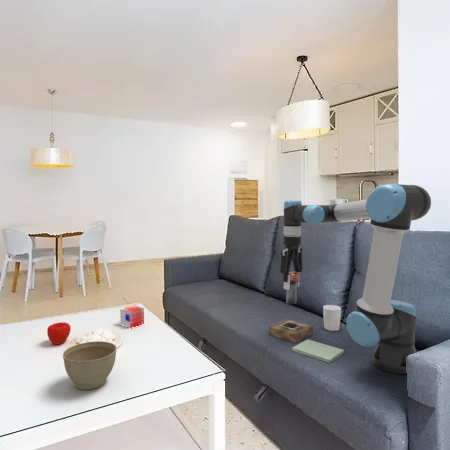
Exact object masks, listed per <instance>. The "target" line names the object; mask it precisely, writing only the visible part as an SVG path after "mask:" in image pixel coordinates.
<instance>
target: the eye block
mask: <svg viewBox="0 0 450 450" xmlns="http://www.w3.org/2000/svg"><path fill="white" fill-rule="evenodd" d="M313 334H314V325H310V324H308V323H307V324H305V323H303V322H299V321H294V320H291V319H287V318H285V319H283V320H280V321H279V322H277V323H273V324H272V325H269V326H268V335H269V336H272V337H277V338H279V339H283V340H286V341H289V342H292V343H294V344H295V343H296V344H297V343H299V342H300V341H302V340H304V339H306V338H308V337H310V336H311V335H313Z"/></svg>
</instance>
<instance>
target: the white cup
mask: <svg viewBox="0 0 450 450" xmlns="http://www.w3.org/2000/svg"><path fill="white" fill-rule="evenodd" d="M322 307H323V310H322V311H323V312H322V313H323V328H324V329H325V330H326V331H330V332H337V331H339V330H340V325H341V324H340V323H341V315H342V313H341V312H342V308H341V307H340V306H338V305H334V304H326V305H323V306H322Z"/></svg>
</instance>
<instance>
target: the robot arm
mask: <svg viewBox="0 0 450 450" xmlns="http://www.w3.org/2000/svg"><path fill="white" fill-rule="evenodd" d="M431 205H432V199H431V196H430V193H429V192H428V191H427V190H426V189H425V188H424V187H422V186H420V185H415V184H396V183H388V184H381V185H378V186H376V187H375V188H374V189H373V190H372V191H371V192H370V193H369V194H368V196H367V197H366V199H361V200H355V201H348V202H341V203H335V204H304V205H303V204H302V201H301V200H285V201H284V203H283V235H284V236H283V245H285V248H284V250H283V249H282V250H281V251H280V253H281V254H280V255H281V259H280V271H279V272H280V274H281V275H283V290H290V275H289V272H291V271H290V270H291V265H293V269H294V272H298V273H300V274H301V273H302V272H303V247H299V246H301V245H302V236H301V235H302V224H309V225H318V224H324V223H325V224H326V223H330V224H331V223H333V224H336V223H341V222H350V221H351V222H352V221H363V220H370V223H369V224H370V226H371V227H372V228H373V235H372V240H371V246H370V250H369V251H370V252H369V258H368V262H367V263H368V264H367V270H366V276H365V282H364V287H363V294H362V297H361V298H358V300H357V301H356V306H355V311H352V312H350V313H349V314H348V315H347V317H346V324H345V325H346V328H347V332H348V334H349V335H350V337H351V339H352V340H353V341H354V342H355V343H356V344H358V345H360V346H362V347H366V348H367V347H375V349H374V352H373V354H372V362H373V364H374V365H375V366H376V367H377V368H379V369H380V370H383V371H385V372H389V373H393V374H397V375H398V374H399V375H407V374H406V357H407V356H408V355H410V354H413V353H417V351H416V347H415V341H416V339H415V338H416V337H415V336H416V320H417V319H416V317H417V315H416V307H415V306H414V305H413V304H411V303H409V302H405V301H402V300H396V299H392V296H393V295H392V294H393V289H394V285H395V279H396V275H397V274H396V273H397V268H398V264H399V257H400V253H401V247H402V242H403V237H404V234H405V233H407V232H409V231H410V230H411V224H412V221H417V220H419V219H420V220H421V219H422V218H423V217H425V216H426V215H427V214H428V213H429V211H430V209H431ZM299 287H300V281H298V282H297V288H299Z"/></svg>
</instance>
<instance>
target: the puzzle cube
mask: <svg viewBox="0 0 450 450" xmlns="http://www.w3.org/2000/svg"><path fill="white" fill-rule="evenodd" d="M119 313H120V315H119V317H120V318H119V319H120V321H119V323H120V325H121V324H122V325H124V326H127V327H129V328H131V329H133V328H132V327H135V328H137V327H136V326H138V327H140V326H139V325H141V326H143V325H142V324H144V325H145V308H143V307H141V306H137V305H130V306H126V307H122V308H120V311H119ZM122 325H121V326H122ZM124 326H123V327H124ZM127 327H126V328H127ZM129 328H128V329H129Z"/></svg>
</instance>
